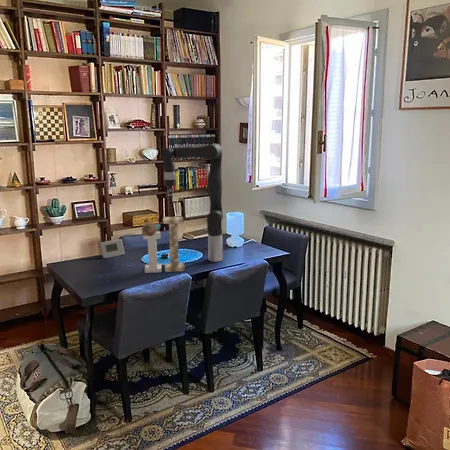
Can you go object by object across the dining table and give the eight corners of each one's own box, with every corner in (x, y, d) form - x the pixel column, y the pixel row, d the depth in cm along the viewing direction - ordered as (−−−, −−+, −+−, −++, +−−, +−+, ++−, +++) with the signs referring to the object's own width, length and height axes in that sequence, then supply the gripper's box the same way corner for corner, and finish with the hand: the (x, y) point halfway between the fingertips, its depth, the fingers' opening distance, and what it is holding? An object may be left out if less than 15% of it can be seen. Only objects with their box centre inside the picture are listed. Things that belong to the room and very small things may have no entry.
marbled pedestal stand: (184, 266, 292) (182, 216, 284) (184, 271, 282) (183, 219, 275) (164, 266, 290) (163, 217, 283) (164, 271, 281) (163, 220, 273)
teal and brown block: (162, 228, 293) (162, 218, 292) (151, 235, 274) (151, 226, 273) (153, 227, 294) (153, 218, 293) (142, 235, 275) (141, 225, 274)
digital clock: (102, 259, 306) (101, 244, 304) (99, 256, 314) (98, 240, 312) (126, 256, 314) (125, 240, 311) (122, 252, 322) (121, 237, 319)
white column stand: (161, 266, 290) (160, 231, 285) (161, 272, 280) (160, 235, 275) (145, 267, 289) (143, 231, 284) (144, 272, 279) (143, 235, 274)
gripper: (175, 179, 298) (176, 204, 301) (175, 177, 312) (176, 200, 315) (164, 180, 297) (165, 204, 301) (164, 177, 311) (165, 201, 314)
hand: (170, 202), depth 308 cm, fingers open, 8 cm apart
